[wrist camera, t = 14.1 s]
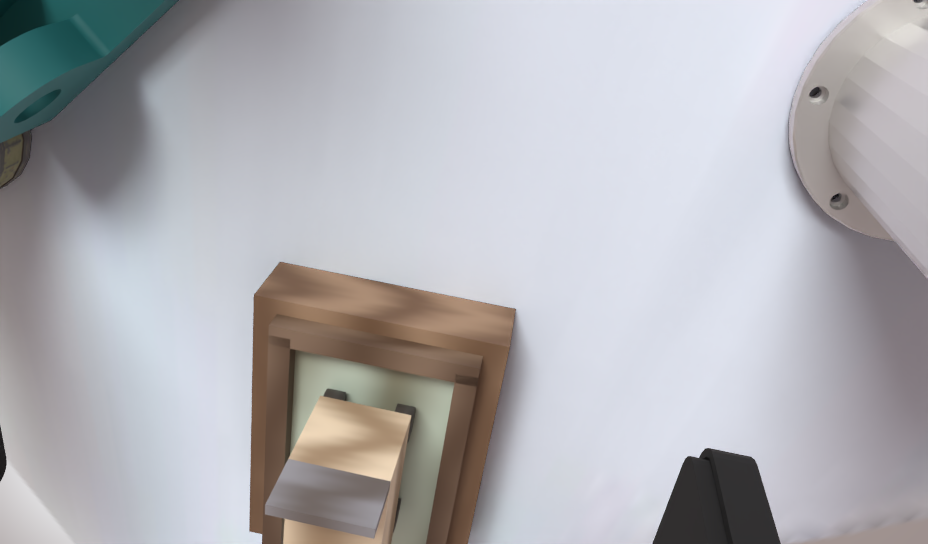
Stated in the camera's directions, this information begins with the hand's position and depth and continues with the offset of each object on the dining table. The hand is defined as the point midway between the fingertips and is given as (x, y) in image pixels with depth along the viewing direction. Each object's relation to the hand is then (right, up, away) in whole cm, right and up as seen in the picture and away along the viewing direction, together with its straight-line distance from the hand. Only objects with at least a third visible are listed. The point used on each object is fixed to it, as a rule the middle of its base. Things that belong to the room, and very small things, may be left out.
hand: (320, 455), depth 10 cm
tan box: (-4, -8, +35) cm, 36 cm away
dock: (-3, -6, +38) cm, 39 cm away
